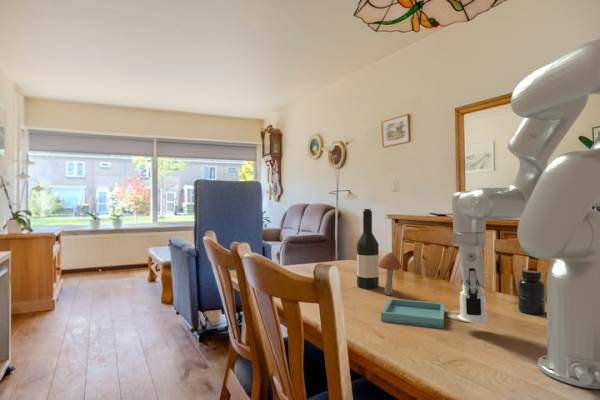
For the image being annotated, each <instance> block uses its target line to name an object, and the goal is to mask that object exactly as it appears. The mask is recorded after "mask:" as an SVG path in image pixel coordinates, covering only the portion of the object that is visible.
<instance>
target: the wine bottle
mask: <svg viewBox="0 0 600 400" xmlns="http://www.w3.org/2000/svg"><path fill="white" fill-rule="evenodd" d="M362 229H363V230H362V234H361V236H359V239H358V240H357V242H356V287H358V288H359V289H363V290H364V289H365V290H374V289H378V288H379V287H380V286H379V285H380V284H379V280H380V279H379V275H380V274H379V269H380V267H379V263H380V261H379V257H380V256H379V242H378V240H377V239H376V237H375V236H374V234H373V211H372V209H371V208H364V209H363V211H362Z"/></svg>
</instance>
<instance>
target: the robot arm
mask: <svg viewBox="0 0 600 400" xmlns="http://www.w3.org/2000/svg"><path fill="white" fill-rule="evenodd" d="M592 94H593V95H599V96H600V38H598V39H595V40H592V41H589V42H585V43H583V44H582V45H580V46H578V47H576V48H574V49H571V50H570V51H569V52H567V53H565V54H563V55H561V56H559V57H557V58H555V59H554V60H552V61H550V62H548V63H546V64H544V65H543V66H540V67H539V68H538V69H536V70H534V71H533V72H531V73H529V74H528V75H526V76H525V77H524V78H522V80H520V82H518V83H517V85H516V86H515V87H514V90H513V91H512V93H511V97H510V107H511V109H512V111H513V113H514V114H515V115H517V116H518V117H521V118H522V119H521V121H520V122H519V124H518V125H517V127H516V129H515V131H514V132H513V134H512V135H511V137H510V138H509V140H508V142H507V149H508V150H509V152H510V153H511V154H512V155H513V156H515V157H516V158H517V159H518V161H519V169H518V172H517V174H516V175H515V177H514V179H513V181H512V182H511V183H510V185H509V186H508V187H481V188H480V187H479V188H476V189H472V190H464V191H456V192H454V193H453V194H452V196H451V209H452V229H453V246H456V247H459V249H458V250H459V265H460V266H459V267H460V275H461V279H462V285H463V284H464V285H465V286H466V288H467V298H466V310H467V314H468V315H479V316H480V315H481V299H480V297H479V284H480V285H482V287H485V286H486V279H485V277H486V276H485V263H484V252H483V247H485V246H487V231H486V227H487V226H486V220H487V221H488V220H489V221H490V220H514V219H518V218H520V219H519V220H518V223H517V230H516V235H517V240H518V243H519V246H520V247H521V250H523V251H524V252H525V253H526V254H527V255H529V256H531V257H533V258H535V259H538V260H544V261H545V260H546V261H547V260H548V261H550V264H549V267H548V271H547V277H546V279H547V280H546V318H547V319H546V321H547V322H546V329H547V330H546V343H547V344H546V345H547V346H546V348H547V351H546V354H545V355H542V356H540V357H539V358H538V360H537V365H538V368H539V370H540V371H541V372H543V373H544V374H545V375H547V376H548V377H551V378H553V379H555V380H556V381H560V382H563V383H566V384H569V385H572V386H576V387H580V388H585V389H593V390H600V211H598V210H597V209H593V208H592V207H595V208H596V207H597V208H598V207H600V132H599V133H598V135H597V137H596V139H595V141H594V142H593V144H592V146H591V147H590V148H589V150H574V151H568V152H566V153H563V154H560V155H558V156H557V157H556V158H554V159H553V160H552V161H550V163H549V164H548V161H549V160H550V158H551V156H552V155H553V153H554V152H555V150H556V149H557V148H558V147H559V145H560V143H561V142H562V141H563V139H564V137H565V136H566V135H567V133H568V132H569V131H570V129H571V128H572V126H573V125H574V123H575V122H576V121H577V119H578V118H579V116H580V115H581V114H582V112H583V110H584V109H585V107H586V105H587V103H588V101H589V96H590V95H592ZM478 282H479V283H478ZM468 283H470V285H468ZM476 283H477V285H476Z"/></svg>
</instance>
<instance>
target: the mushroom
mask: <svg viewBox="0 0 600 400" xmlns="http://www.w3.org/2000/svg"><path fill="white" fill-rule="evenodd" d="M380 268H381V269H384V270H386V281H385V284H384V285H385V286H384V294H385V295H386V296H393V292H394V291H393V277H394V271H395V270H396V271H398V270H401V269H402V268H403V267H402V265H401V262H400V260H399V259H398V257H397V256H396V255H395V254H394V253H393V252H388V253H387V254H385V255H384V256H383V257H382V259H380V261H379V269H380Z"/></svg>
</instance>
